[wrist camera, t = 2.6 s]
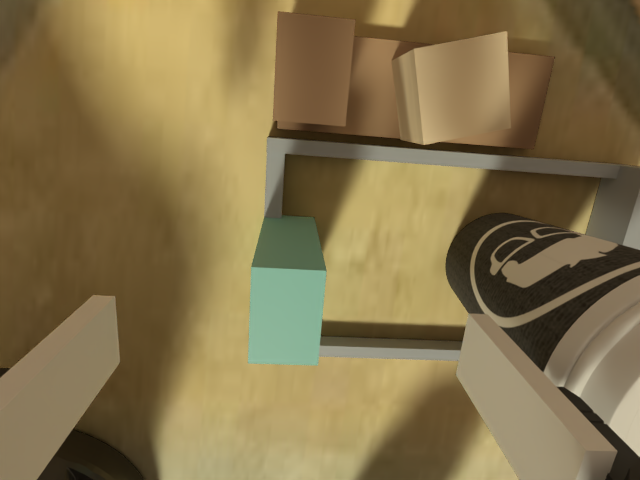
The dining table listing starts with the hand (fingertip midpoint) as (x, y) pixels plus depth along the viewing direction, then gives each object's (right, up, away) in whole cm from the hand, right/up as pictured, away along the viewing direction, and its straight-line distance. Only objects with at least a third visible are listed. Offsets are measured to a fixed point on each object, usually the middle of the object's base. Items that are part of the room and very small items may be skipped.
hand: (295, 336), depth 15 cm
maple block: (+7, +12, +7) cm, 16 cm away
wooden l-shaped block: (+6, +12, +8) cm, 16 cm away
